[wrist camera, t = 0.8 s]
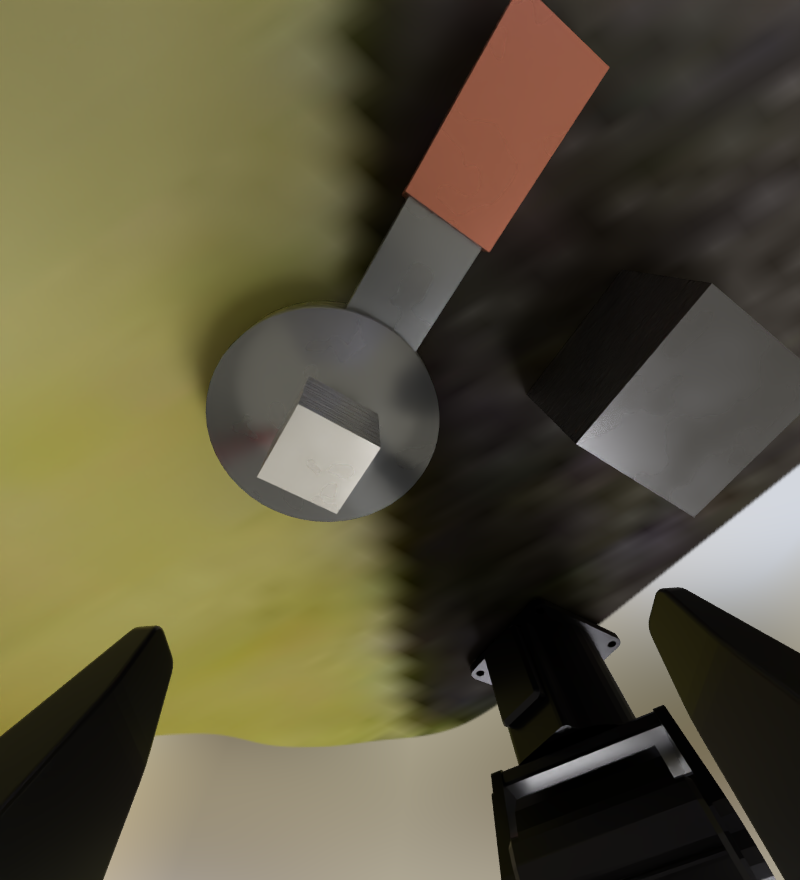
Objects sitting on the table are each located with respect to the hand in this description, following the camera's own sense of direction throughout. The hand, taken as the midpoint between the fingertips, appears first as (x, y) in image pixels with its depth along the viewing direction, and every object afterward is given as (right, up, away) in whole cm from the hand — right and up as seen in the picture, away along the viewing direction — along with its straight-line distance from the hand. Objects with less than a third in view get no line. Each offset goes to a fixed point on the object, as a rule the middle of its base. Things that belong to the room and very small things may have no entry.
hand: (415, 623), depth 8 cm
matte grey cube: (+9, +6, +11) cm, 16 cm away
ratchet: (-1, +9, +9) cm, 13 cm away
